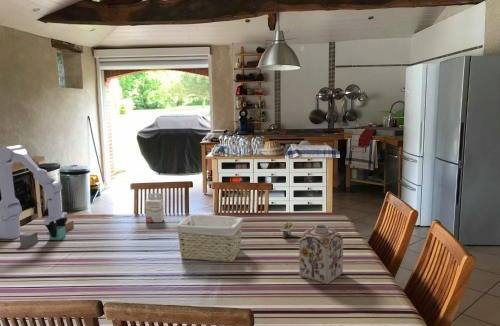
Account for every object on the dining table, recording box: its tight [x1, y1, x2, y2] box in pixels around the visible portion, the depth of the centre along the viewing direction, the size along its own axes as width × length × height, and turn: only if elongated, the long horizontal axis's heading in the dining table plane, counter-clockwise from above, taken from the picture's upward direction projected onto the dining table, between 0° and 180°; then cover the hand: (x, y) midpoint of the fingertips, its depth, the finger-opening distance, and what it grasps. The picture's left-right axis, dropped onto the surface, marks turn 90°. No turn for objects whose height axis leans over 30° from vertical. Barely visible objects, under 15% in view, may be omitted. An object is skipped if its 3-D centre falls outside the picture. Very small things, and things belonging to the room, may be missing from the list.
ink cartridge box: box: [144, 192, 165, 224], centre depth 216 cm, size 9×5×15 cm, turn 84°
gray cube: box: [19, 231, 39, 247], centre depth 187 cm, size 5×5×5 cm
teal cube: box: [48, 226, 67, 241], centre depth 194 cm, size 5×5×5 cm
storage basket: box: [176, 214, 244, 263], centre depth 168 cm, size 24×16×15 cm
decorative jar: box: [298, 224, 344, 285], centre depth 146 cm, size 12×12×18 cm
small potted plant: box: [280, 221, 294, 240], centre depth 189 cm, size 12×18×7 cm, turn 159°
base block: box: [54, 219, 75, 232], centre depth 207 cm, size 8×8×4 cm
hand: (57, 235), depth 194 cm, fingers closed on teal cube, 5 cm apart
